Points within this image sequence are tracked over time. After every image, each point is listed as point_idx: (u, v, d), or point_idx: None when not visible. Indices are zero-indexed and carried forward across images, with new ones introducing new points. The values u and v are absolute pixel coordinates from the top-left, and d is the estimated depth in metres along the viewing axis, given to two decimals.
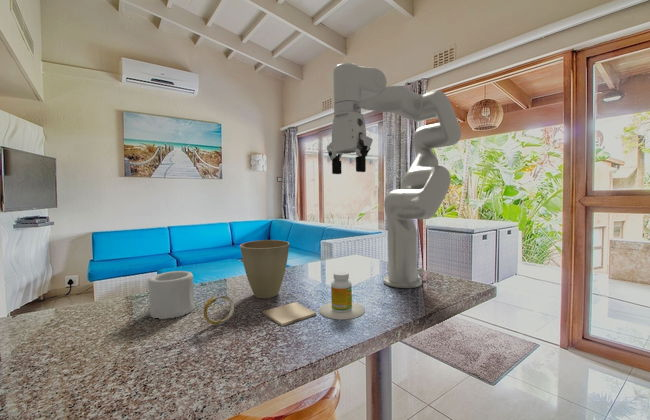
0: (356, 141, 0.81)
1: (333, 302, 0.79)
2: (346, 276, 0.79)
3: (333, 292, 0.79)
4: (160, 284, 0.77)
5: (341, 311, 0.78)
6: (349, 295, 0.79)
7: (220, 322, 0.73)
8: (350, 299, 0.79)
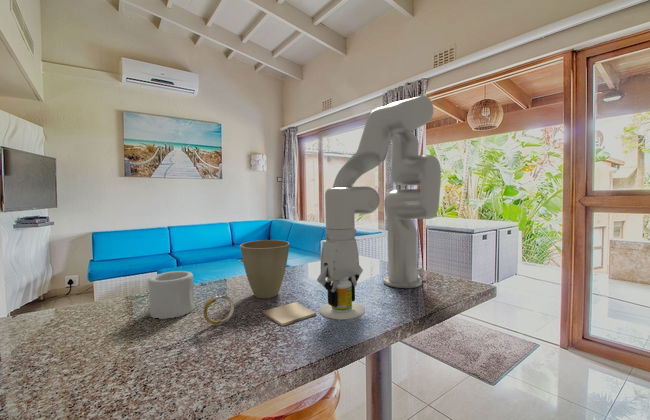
0: None
1: None
2: None
3: None
4: (160, 284, 0.77)
5: (341, 311, 0.78)
6: (349, 295, 0.79)
7: (220, 322, 0.73)
8: (350, 299, 0.79)
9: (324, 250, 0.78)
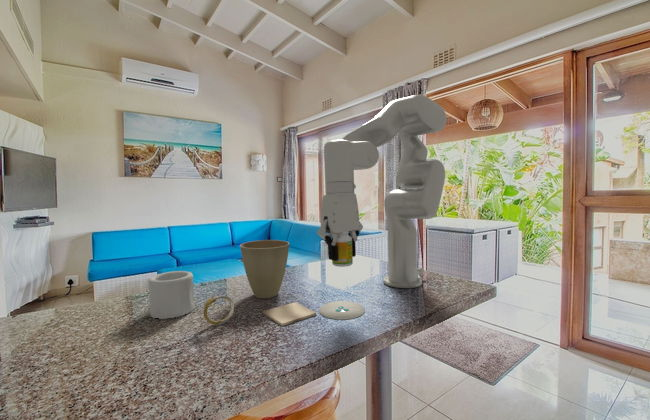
0: None
1: None
2: None
3: None
4: (160, 284, 0.77)
5: (342, 265, 0.78)
6: (349, 249, 0.79)
7: (220, 322, 0.73)
8: (351, 253, 0.79)
9: (324, 204, 0.77)
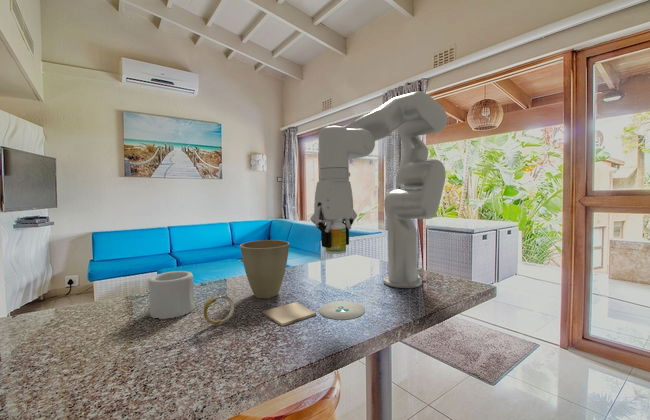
0: None
1: None
2: None
3: None
4: (160, 284, 0.77)
5: (335, 252, 0.77)
6: (343, 237, 0.78)
7: (220, 322, 0.73)
8: (344, 241, 0.78)
9: (318, 190, 0.76)
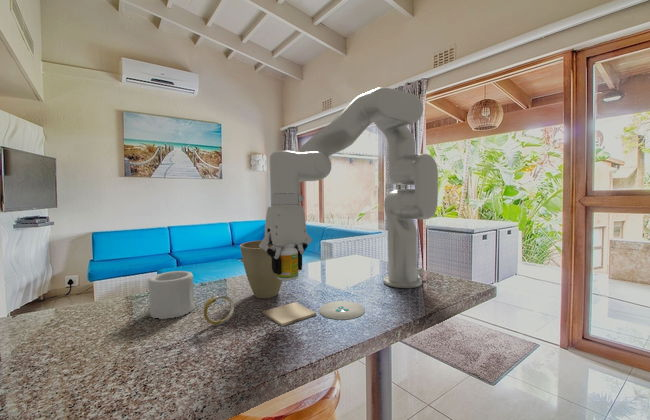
0: None
1: None
2: None
3: None
4: (160, 284, 0.77)
5: (285, 279, 0.76)
6: (294, 263, 0.76)
7: (220, 322, 0.73)
8: (295, 266, 0.77)
9: (267, 215, 0.75)
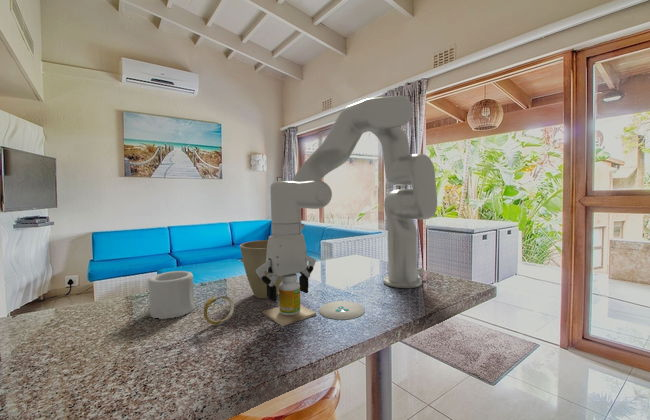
0: None
1: (280, 304, 0.77)
2: (293, 278, 0.77)
3: (280, 294, 0.77)
4: (160, 284, 0.77)
5: (288, 314, 0.76)
6: (296, 297, 0.77)
7: (220, 322, 0.73)
8: (298, 301, 0.77)
9: (268, 245, 0.75)
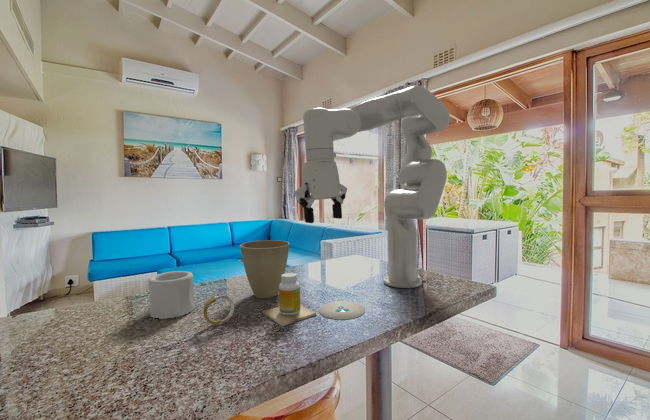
0: None
1: (280, 304, 0.77)
2: (293, 278, 0.77)
3: (280, 294, 0.77)
4: (160, 284, 0.77)
5: (288, 314, 0.76)
6: (296, 297, 0.77)
7: (220, 322, 0.73)
8: (298, 301, 0.77)
9: (304, 171, 0.79)
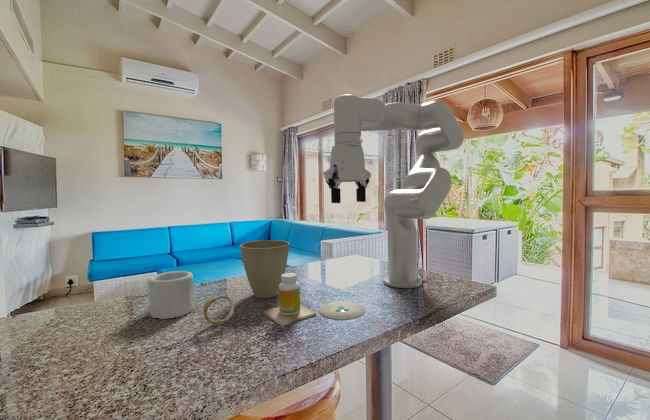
0: None
1: (280, 305, 0.77)
2: (293, 278, 0.77)
3: (280, 294, 0.77)
4: (160, 284, 0.77)
5: (288, 314, 0.76)
6: (296, 297, 0.77)
7: (220, 322, 0.73)
8: (298, 301, 0.77)
9: (333, 153, 0.83)
